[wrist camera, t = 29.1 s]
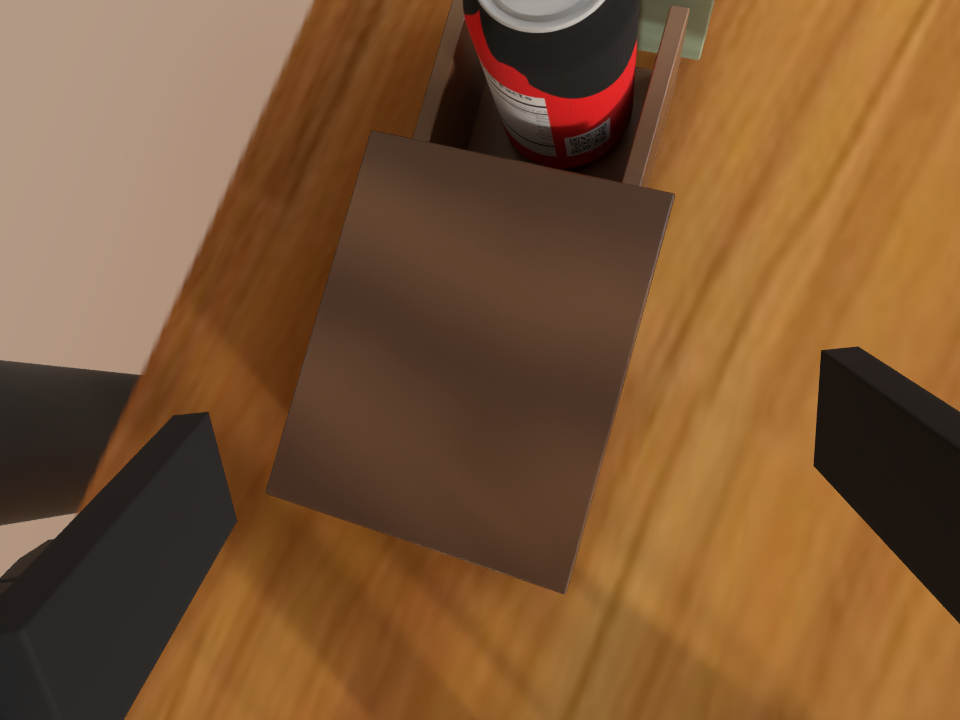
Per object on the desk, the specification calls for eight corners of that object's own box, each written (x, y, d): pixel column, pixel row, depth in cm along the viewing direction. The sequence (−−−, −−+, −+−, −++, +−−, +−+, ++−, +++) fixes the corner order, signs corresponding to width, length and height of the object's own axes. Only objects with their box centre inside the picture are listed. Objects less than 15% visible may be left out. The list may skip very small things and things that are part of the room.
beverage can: (652, 144, 34) (673, -6, 22) (531, 196, 35) (489, 78, 23) (603, 32, 35) (599, -169, 23) (487, 86, 36) (424, -81, 24)
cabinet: (425, 196, 38) (370, 129, 29) (660, 249, 35) (675, 192, 27) (344, 477, 37) (263, 493, 29) (577, 553, 35) (565, 595, 26)
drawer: (509, -79, 37) (486, -189, 31) (729, -49, 35) (757, -161, 28) (410, 264, 37) (365, 228, 30) (628, 318, 34) (632, 292, 28)
